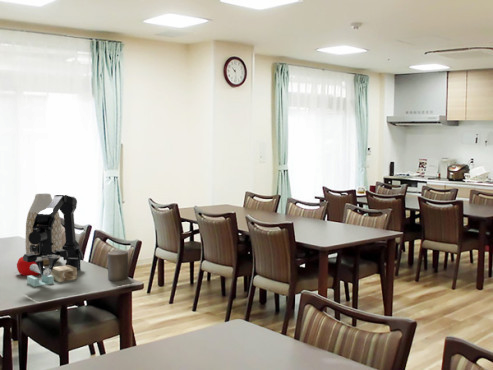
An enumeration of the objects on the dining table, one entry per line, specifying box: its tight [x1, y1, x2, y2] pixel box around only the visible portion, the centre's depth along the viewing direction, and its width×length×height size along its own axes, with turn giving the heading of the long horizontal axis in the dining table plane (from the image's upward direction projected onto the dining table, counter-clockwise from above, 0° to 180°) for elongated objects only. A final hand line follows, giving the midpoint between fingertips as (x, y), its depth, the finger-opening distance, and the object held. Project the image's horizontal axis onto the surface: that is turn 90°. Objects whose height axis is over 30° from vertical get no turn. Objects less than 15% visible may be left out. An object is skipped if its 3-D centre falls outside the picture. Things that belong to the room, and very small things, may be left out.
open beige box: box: [51, 265, 78, 283], centre depth 264 cm, size 9×9×6 cm
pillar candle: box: [107, 250, 129, 282], centre depth 265 cm, size 10×10×15 cm
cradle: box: [26, 275, 55, 288], centre depth 255 cm, size 9×8×4 cm
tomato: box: [16, 256, 41, 277], centre depth 271 cm, size 11×13×10 cm
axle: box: [30, 264, 52, 276], centre depth 255 cm, size 16×3×3 cm, turn 44°
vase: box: [25, 193, 63, 266], centre depth 298 cm, size 19×19×38 cm
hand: (46, 273), depth 250 cm, fingers closed on axle, 3 cm apart
